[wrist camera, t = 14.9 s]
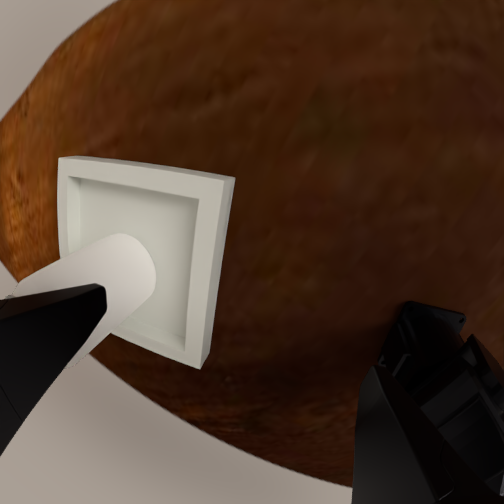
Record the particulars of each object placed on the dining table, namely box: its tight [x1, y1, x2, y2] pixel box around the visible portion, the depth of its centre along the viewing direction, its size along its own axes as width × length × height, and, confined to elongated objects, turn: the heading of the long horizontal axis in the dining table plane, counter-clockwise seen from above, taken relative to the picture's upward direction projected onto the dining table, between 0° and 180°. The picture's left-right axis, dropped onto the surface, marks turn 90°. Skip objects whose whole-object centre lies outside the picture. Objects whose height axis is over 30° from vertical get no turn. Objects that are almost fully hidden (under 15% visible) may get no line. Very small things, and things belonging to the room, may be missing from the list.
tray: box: [57, 156, 235, 369], centre depth 23 cm, size 16×16×2 cm
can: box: [5, 233, 156, 369], centre depth 18 cm, size 6×6×12 cm
